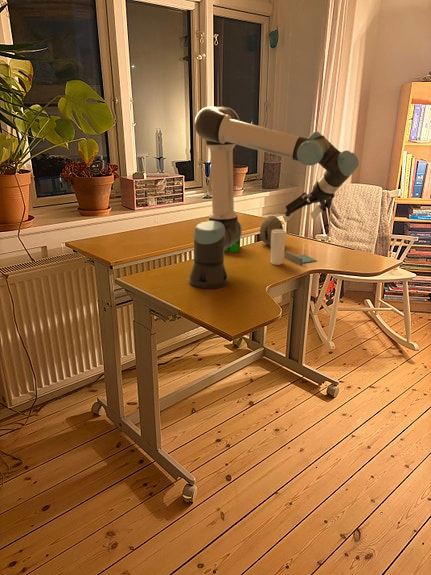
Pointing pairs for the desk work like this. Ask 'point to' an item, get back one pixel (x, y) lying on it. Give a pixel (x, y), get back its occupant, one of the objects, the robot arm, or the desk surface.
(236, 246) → the puzzle cube
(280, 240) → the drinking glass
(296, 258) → the charcoal wall
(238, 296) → the desk surface
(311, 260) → the teal mat
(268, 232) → the decorative egg
